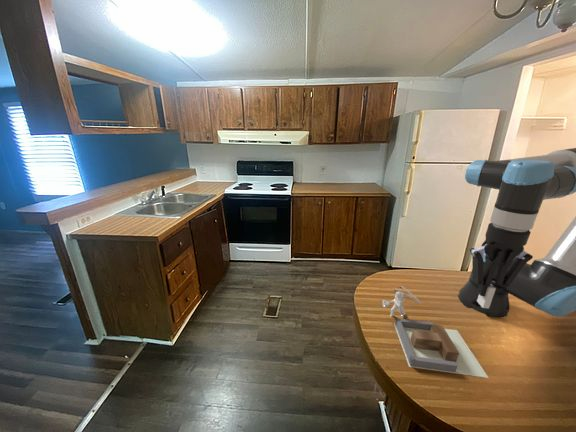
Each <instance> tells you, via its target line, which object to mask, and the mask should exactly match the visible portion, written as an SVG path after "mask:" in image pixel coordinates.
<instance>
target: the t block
mask: <svg viewBox="0 0 576 432" xmlns="http://www.w3.org/2000/svg"><path fill="white" fill-rule="evenodd" d="M445 329H446V328H445V327H444V326H443V325H442V324H435V323H434V324H432V326H431V330H430V332H424V331H416V330H413V331H412V335H411V342H412V345H413V347H414V348H417V349H425V350H433V351H439V353H440V355H441V357H442V359H443V360H445V361H453V362H456V361H457V358H458V355H459V352H458V350H457V349H456V347H455V345H454V344H453V342H452V340H451V339H450V337H449V335H448V334H447V332H446V331H445Z"/></svg>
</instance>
